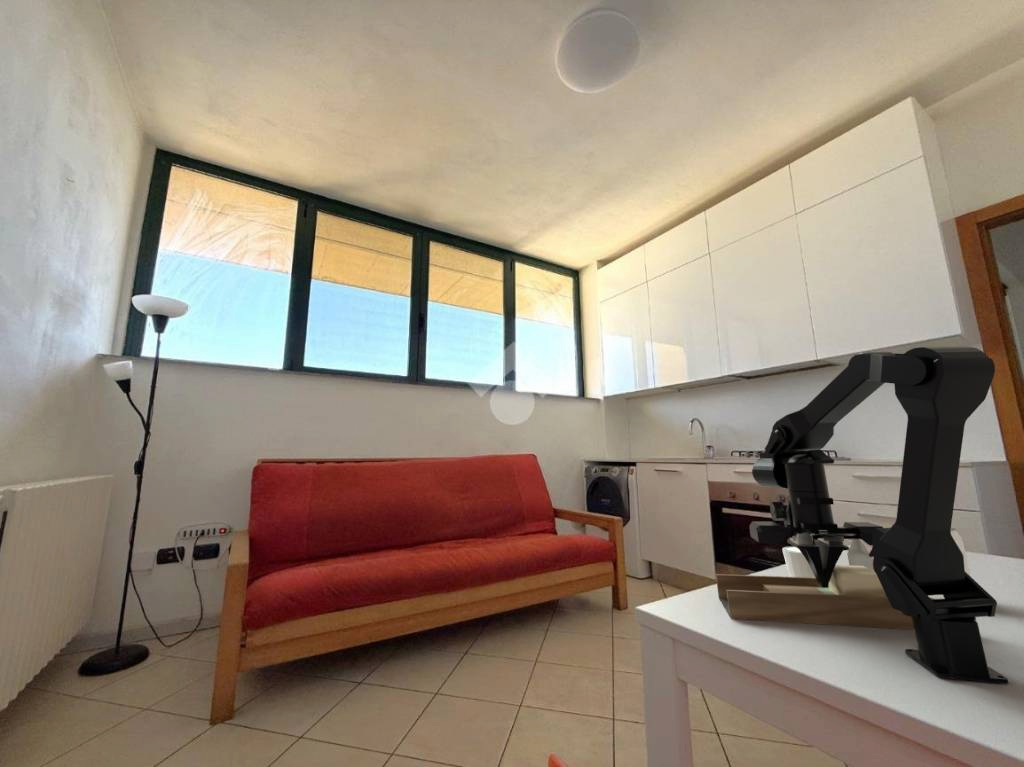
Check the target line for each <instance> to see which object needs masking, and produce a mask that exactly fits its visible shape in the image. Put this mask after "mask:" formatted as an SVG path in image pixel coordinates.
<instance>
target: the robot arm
mask: <svg viewBox="0 0 1024 767" xmlns="http://www.w3.org/2000/svg"><path fill="white" fill-rule="evenodd" d="M995 373H996V366H995V362H994V360H993V358H991V357H989V356H988V355H987V354H986V353H985V352H984V351H982V350H980V349H978V348H977V347H973V346H966V345H964V346H925V347H924V346H923V347H922V346H921V347H913V348H911V349H909V350H906V351H905V352H904V353H894V352H890V351H866V352H865V351H864V352H859V353H857V354H854V355H853V356H852V357H850V359H849V361H848V364H847V366H845V368H844V369H843V370H842V371H840V373H838V374H837V376H835V377H834V378H833V379H832V380H831V381H830V382H829V383H828V384H827V385H826V386H825V387H824V388H823V389H822V390H821V391H820V392H819V393H818V394H817V395H816V396H815V397H814V398H813V399H811V401H810V402H809V403H807V404H806V406H804V407H802V408H800V409H797V410H794V411H793V412H789V413H787V414H786V415H784V416H782V417H781V418H779V419H778V420H776V421H775V422H774V424H773V426H772V430H771V432H770V436H769V438H768V441H767V444H766V445H765V447H764V451H761V452H760V451H759V458H758V459H757V460H756V461H754V464H753V467H752V468H751V474H752V478H753V479H754V481H755V482H756V483H757V484H759V485H760V486H762V487H766V488H777V489H787V491H788V494H787V495H786V496H787V498H786V500H787V504H784V503H783V501H770V503H769V507H770V508H769V509H770V515H771V518H772V520H773V521H757V520H755V521H751V523H750V524H749V533H750V537H751V538H752V539H753V540H755V541H756V542H758V543H761V544H782V543H783V542H784V541H785V540H786V539H787V543H788V544H789V545H791V546H794V547H796V548H798V549H799V550H800V551H801V553H802V554H803V556H804V557H805V559H806V560H807V562H808V564H809V566H810V568H811V570H812V572H813V574H814V575H815V577H816V579H817V581H818V583H819V585H820V586H821V587H823V588H827V587H828V584H829V582H830V579H831V576H832V573H833V570H834V567H835V565H837V562H838V561H839V560H840V557H841V555H842V554H843V552H844V551H849V548H850V546H848V545H846V544H845V540H853V539H861V540H863V541H864V542H865V543H866V544H868V545H873V546H872V550H871V552H870V553H869V556H870V557H874V558H873V568H874V572H875V573H876V574H877V577H878V579H879V581H880V583H881V585H882V587H883V589H884V591H885V593H886V596H887V598H888V600H889V602H890V604H891V606H892V608H894V609H896V610H899V611H901V612H903V614H904V615H906V616H911V617H912V621H913V626H914V635H915V640H916V644H917V649H916V648H915V649H914V648H904V652H905V654H906V655H907V656H908V657H910V658H911V659H913V660H914V661H915V662H916V663H919V664H920V665H921V666H922V667H924V668H925V669H927V670H928V671H929V672H931V673H932V674H933V675H935V677H938V678H941V679H952V680H953V679H954V680H964V681H974V682H975V681H976V682H987V683H988V682H989V683H999V684H1009V683H1010V682H1009V678H1008V677H1006V676H1005V675H1003V674H1002V673H1000V672H998V671H997V670H995V669H993V668H991V667H990V666H988V662H987V658H986V653H985V652H986V651H985V649H984V645H983V640H982V636H981V632H980V628H979V623H978V620H977V618H980V617H981V618H983V617H988V618H994V617H995V616H996V610H997V606H998V603H997V600H996V598H994V597H993V596H992V595H991V594H989V592H988V591H987V590H986V589H984V588H983V586H981V585H980V584H979V583H978V582H977V581H976V580H975V579H974V578H972V576H971V577H970V576H969V575H968V574H967V573H966V572H965V569H964V557H963V554H962V552H961V550H960V549H959V547H958V545H957V544H956V542H955V540H954V539H953V537H952V535H951V527H952V523H953V522H952V521H953V514H954V507H955V500H956V493H957V485H958V475H959V470H960V462H961V456H962V455H961V454H962V447H963V441H964V440H963V439H964V434H965V433H964V432H965V425H966V422H967V420H968V419H969V418H970V417H971V416H972V414H974V412H975V411H976V410H977V409H978V408H979V407H980V406H981V405H982V403H983V402H984V401H985V400H986V398H987V396H988V393H989V390H990V388H991V385H992V383H993V379H994V377H995ZM885 383H886V384H892V385H893V384H894V393H895V394H894V396H895V397H896V398H897V400H898V402H899V404H900V405H901V407H902V409H903V411H904V412H905V414H906V416H907V422H906V431H905V432H906V433H905V441H904V447H903V448H904V449H903V458H902V466H901V467H902V468H901V477H900V483H899V492H898V501H897V503H898V504H897V510H896V511H897V512H896V518H895V521H894V523H893V524H892V525H891V526H890V527H883V526H881V525H879V524H875V523H871V522H867V521H863V522H862V521H858V522H857V521H844V523H843V526H842V527H841V526H840V527H839V526H838V523H835V522H834V521H835V520H834V515H833V509H832V505H834V504H835V503H834V497H830V492H829V486H828V482H827V475H826V471H825V465H830V464H831V465H832V464H834V463H835V460H834V458H832V457H831V456H829V455H827V454H826V453H824V452H823V450H822V449H823V448H824V447H825V446H826V445H827V444H828V442H830V440H831V439H832V438H833V436H834V435H835V433H834V432H835V426H836V425H837V424H838V423H839V422H840V421H841V420H842V419H843V418H845V417H846V416H848V414H849V413H850V412H852V411H853V410H854V409H856V408H857V407H858V406H859V405H860V404H861V403H863V401H865V400H867V398H869V397H870V396H871V395H872V394H874V393H875V392H876V391H877V390H878V389H879V388H881V387H882V386H883V385H884V384H885ZM775 521H783V524H784V526H782V525H781V524H779V523H776V522H775ZM930 595H943V596H944V598H945V599H933V600H931V599H930V598H929V597H928V596H930Z"/></svg>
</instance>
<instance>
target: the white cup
mask: <svg viewBox="0 0 1024 767" xmlns="http://www.w3.org/2000/svg"><path fill="white" fill-rule="evenodd" d="M781 551H782V554H783V557H784V561H785V565H786V569H787V573H788V577H809V578H816V577H815V575H814V574H813V572H812V570H811V568H810V566H809V564H808V562H807V560H806V559H805V557H804V556H803V554H802V553H801V551H800V550H799V549H798V548H796V547H794V546H793V545H791V546H785V547H782V550H781Z"/></svg>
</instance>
